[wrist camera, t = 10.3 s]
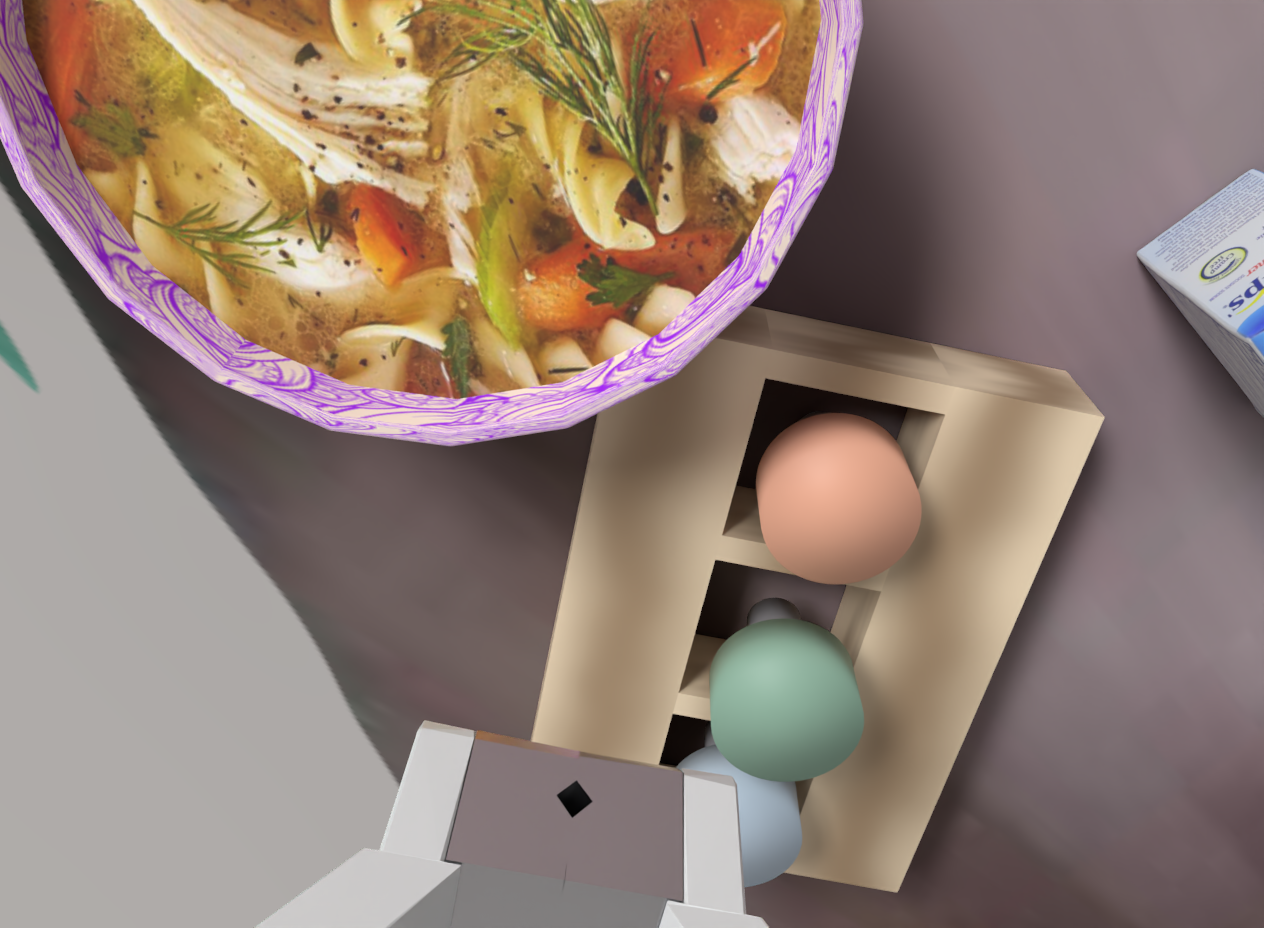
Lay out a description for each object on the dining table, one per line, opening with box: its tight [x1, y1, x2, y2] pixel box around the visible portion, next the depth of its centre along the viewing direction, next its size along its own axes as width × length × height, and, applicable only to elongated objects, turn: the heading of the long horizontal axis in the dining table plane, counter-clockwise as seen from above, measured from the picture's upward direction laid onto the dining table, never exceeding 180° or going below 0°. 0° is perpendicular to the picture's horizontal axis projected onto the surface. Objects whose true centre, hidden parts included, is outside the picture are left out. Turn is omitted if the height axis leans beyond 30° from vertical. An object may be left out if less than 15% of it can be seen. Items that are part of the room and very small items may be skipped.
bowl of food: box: [0, 0, 864, 446], centre depth 29 cm, size 20×20×12 cm
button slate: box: [676, 721, 802, 887], centre depth 43 cm, size 5×5×6 cm
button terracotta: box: [756, 411, 922, 584], centre depth 37 cm, size 5×5×6 cm
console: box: [531, 306, 1105, 892], centre depth 42 cm, size 16×22×4 cm
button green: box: [709, 598, 864, 782], centre depth 39 cm, size 5×5×6 cm
